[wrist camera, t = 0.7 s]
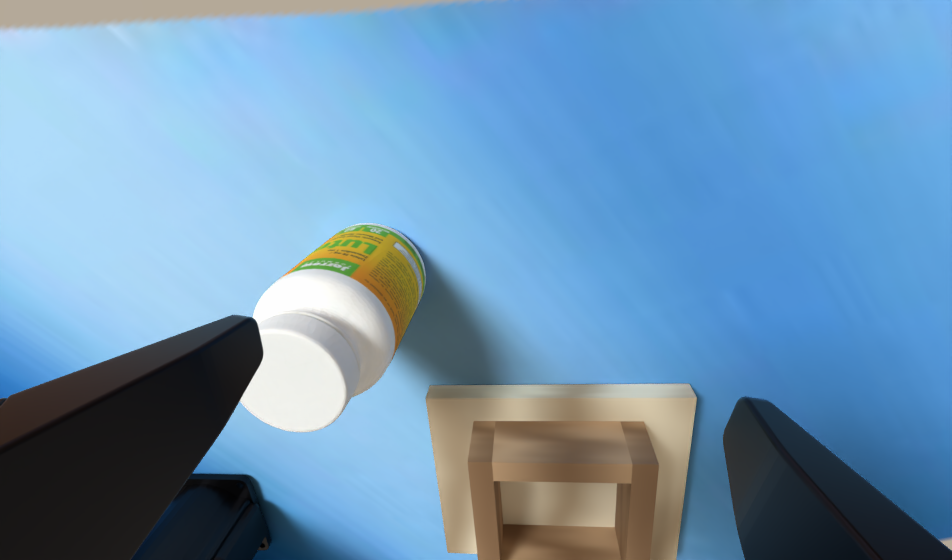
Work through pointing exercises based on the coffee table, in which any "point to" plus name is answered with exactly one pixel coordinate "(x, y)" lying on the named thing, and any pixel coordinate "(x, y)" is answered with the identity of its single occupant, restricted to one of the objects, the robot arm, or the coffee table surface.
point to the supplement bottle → (333, 326)
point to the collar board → (562, 469)
